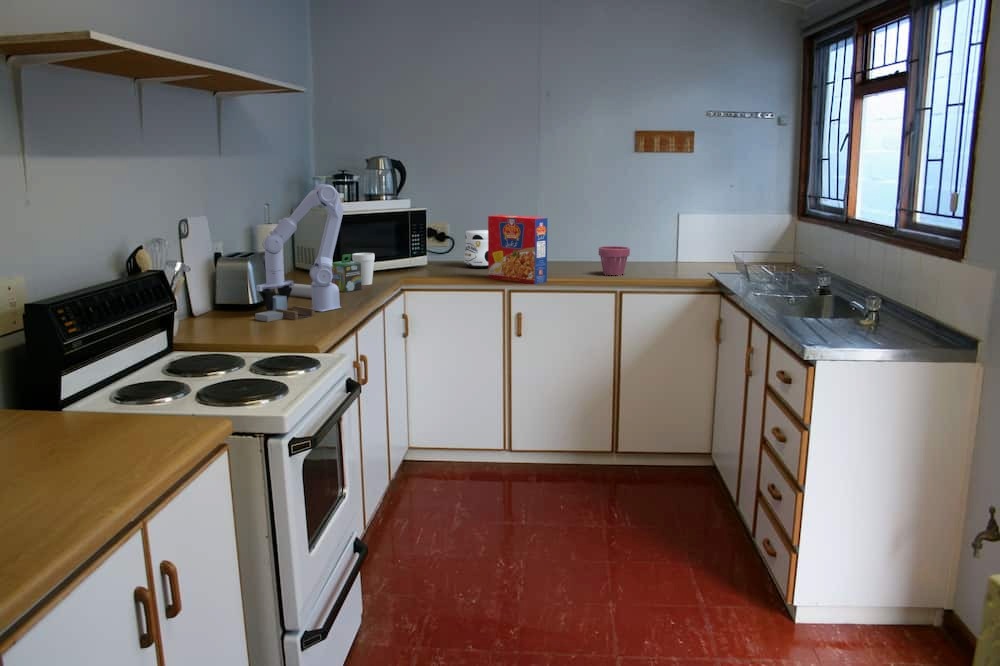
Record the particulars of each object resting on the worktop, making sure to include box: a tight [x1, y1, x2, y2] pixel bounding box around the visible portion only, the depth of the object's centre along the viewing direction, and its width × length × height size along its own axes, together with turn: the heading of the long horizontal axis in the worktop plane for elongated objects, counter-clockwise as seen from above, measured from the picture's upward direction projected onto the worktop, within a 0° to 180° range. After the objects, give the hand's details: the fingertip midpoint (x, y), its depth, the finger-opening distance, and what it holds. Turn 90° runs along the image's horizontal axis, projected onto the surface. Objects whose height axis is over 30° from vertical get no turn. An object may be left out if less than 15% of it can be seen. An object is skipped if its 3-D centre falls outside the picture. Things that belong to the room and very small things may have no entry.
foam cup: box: [351, 252, 376, 286], centre depth 342 cm, size 10×9×13 cm
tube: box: [275, 283, 312, 299], centre depth 312 cm, size 5×5×25 cm
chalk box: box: [331, 253, 363, 293], centre depth 325 cm, size 9×9×15 cm
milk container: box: [463, 229, 488, 269], centre depth 395 cm, size 17×17×18 cm
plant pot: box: [598, 245, 631, 276], centre depth 368 cm, size 14×14×13 cm
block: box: [272, 294, 288, 312], centre depth 276 cm, size 4×4×6 cm
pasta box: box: [487, 214, 548, 285], centre depth 351 cm, size 28×8×28 cm, turn 46°
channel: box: [276, 305, 316, 320], centre depth 271 cm, size 8×10×2 cm
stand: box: [254, 310, 284, 323], centre depth 266 cm, size 6×6×2 cm
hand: (276, 309), depth 277 cm, fingers open, 5 cm apart
